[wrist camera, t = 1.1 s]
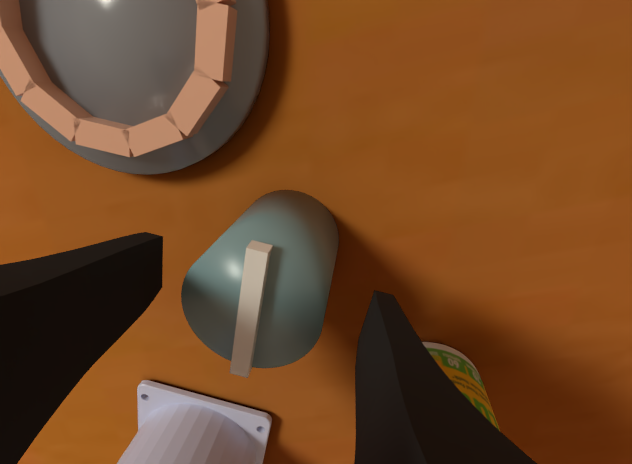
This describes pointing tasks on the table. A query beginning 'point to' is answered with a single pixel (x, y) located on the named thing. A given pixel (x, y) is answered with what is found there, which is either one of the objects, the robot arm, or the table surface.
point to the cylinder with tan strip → (265, 283)
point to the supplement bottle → (463, 377)
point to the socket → (136, 75)
